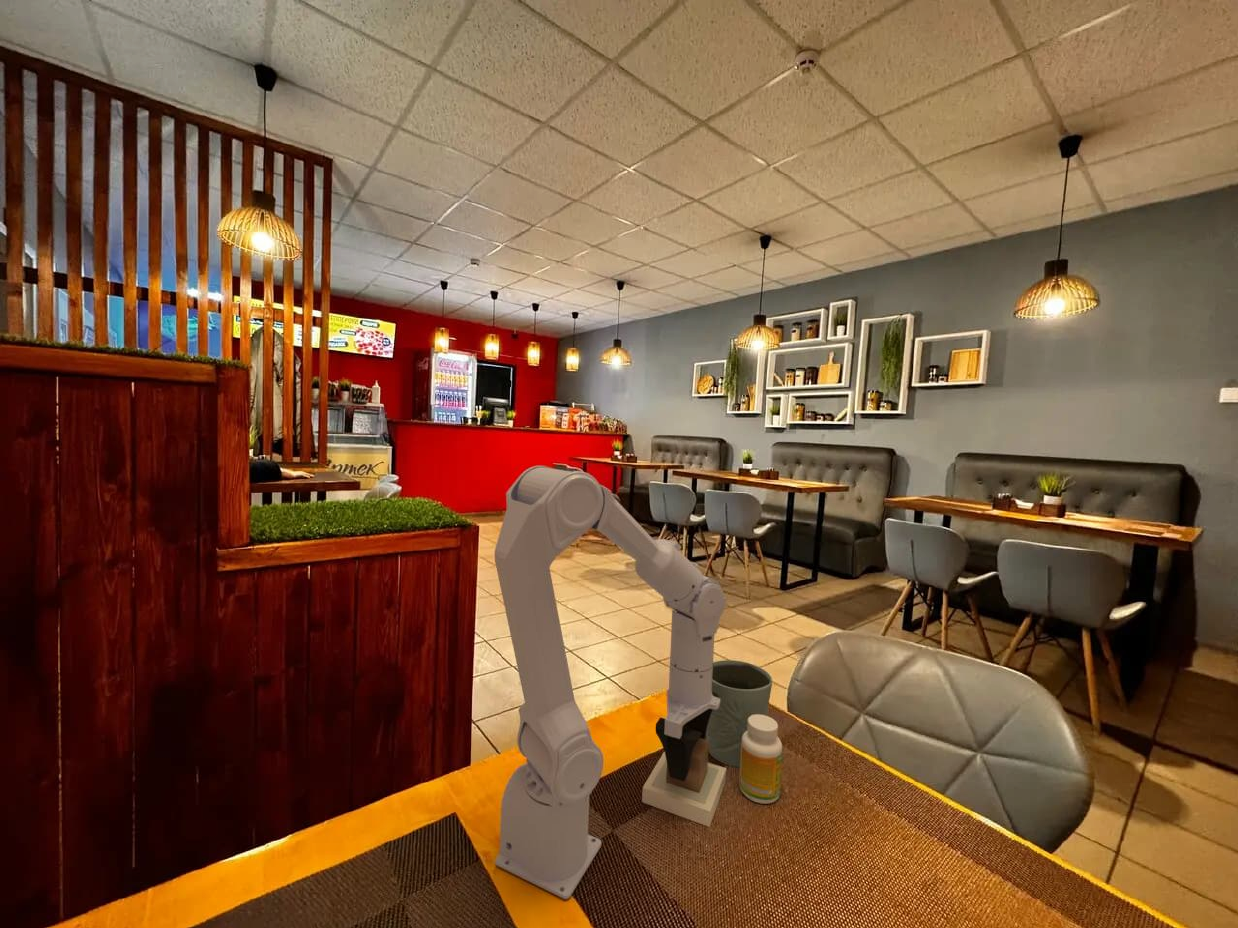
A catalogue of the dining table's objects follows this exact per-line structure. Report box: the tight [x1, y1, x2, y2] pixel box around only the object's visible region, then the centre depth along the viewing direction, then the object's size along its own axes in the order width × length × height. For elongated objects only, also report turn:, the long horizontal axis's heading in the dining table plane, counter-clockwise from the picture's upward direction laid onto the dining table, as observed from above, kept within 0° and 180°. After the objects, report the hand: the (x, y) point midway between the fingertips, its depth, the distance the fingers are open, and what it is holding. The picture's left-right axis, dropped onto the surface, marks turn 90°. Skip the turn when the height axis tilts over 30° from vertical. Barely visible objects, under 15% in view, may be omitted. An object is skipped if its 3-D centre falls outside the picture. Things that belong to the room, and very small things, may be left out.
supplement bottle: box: [738, 714, 783, 804], centre depth 67 cm, size 5×5×10 cm
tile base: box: [641, 751, 727, 828], centre depth 67 cm, size 9×9×2 cm
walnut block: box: [666, 738, 709, 793], centre depth 67 cm, size 4×4×4 cm
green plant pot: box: [705, 659, 773, 768], centre depth 76 cm, size 10×10×12 cm
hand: (686, 760), depth 67 cm, fingers open, 7 cm apart
